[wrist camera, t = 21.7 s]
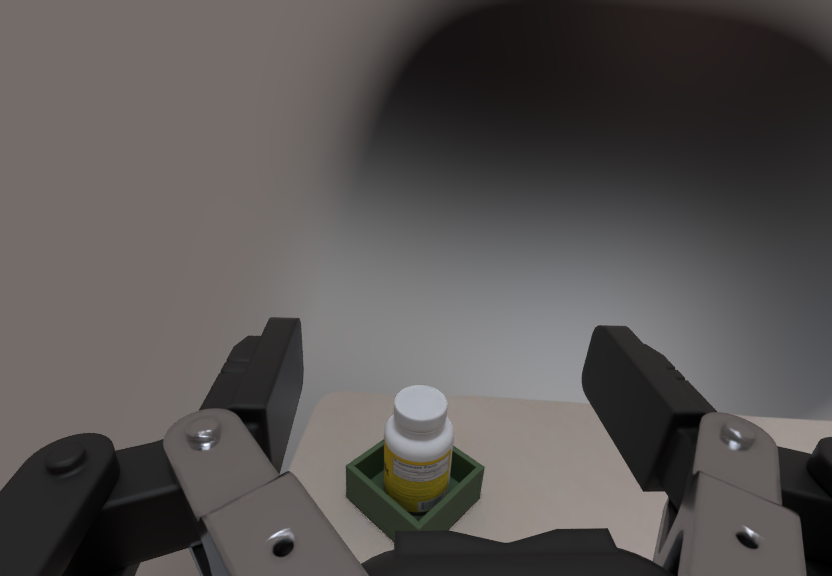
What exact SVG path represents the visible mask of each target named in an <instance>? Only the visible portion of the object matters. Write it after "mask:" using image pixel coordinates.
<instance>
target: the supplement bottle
mask: <svg viewBox="0 0 832 576" xmlns="http://www.w3.org/2000/svg"><path fill="white" fill-rule="evenodd" d="M447 406H448V405H447V400H446V398H445V396H444V395H443V394H442V393H441V392H440V391H438V390H437V389H435V388H433V387H430V386H424V385H414V386H409V387H407V388H404V389H402V390H401V391H400V392H399V393H398V394H397V395H396V397H395V400H394V414H392V415H391V417H390V418H389V419H388V421H387V423H386V426H385V434H384V492H385V493H386V494H387V495H388V496H390V497H391V498H392V499H393V500H394V501H395V502H397V503H398V504H399V505H400V506H401V507H402V508H404V509H405V510H406V511H407V512H408V513H409V514H410V515H412V516H413V517H414V518H415V519H416V520H420V519H421V518H422V517H424V516H425V515H426V514H427V513H428V512H429V511H430V510H431V509H432V508H433V507H434V506H435V505H436V504H437V503H439V502H440V501H441V500H442V499H443V498H444V497H445V496H446V495H447V494H448V490H449V481H450V471H451V461H452V451H453V441H454V430H453V426H452V423H451V422H450V420H449V419H448V417H447Z"/></svg>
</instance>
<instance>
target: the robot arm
mask: <svg viewBox="0 0 832 576" xmlns="http://www.w3.org/2000/svg"><path fill="white" fill-rule="evenodd" d="M301 334H302V333H301V322H300V319H299V318H276V317H271V318H270V319H269V320H268V322H267V324H266V327H265V329H264V331H263V333H262V335H261V336H247V337H246V338H245V339H243V340H242V341H241V342H239V343H238V344H237V345H235V346H234V347H233V349H232V351H231V353H230V355H229V356H228V358H227V362H225V364H224V366H223V368H222V369H221V373H220V374H219V375H218V377H217V378H216V380H215V382H214V384H213V386H212V387H211V389H210V391H209V393H208V395H207V397H206V399H205V400H204V402H203V404H202V406H201V408H200V409H199V411H197V412H194V413H191V414H189V415H187V416H185V417H183V418H181V419H180V420H178V421H177V422H175V423H174V424H173V425H172V426H171V427H170V428H169V430H168V431H167V433H166V435H165V436H164V439H162V440H160V441H156V442H153V443H149V444H144V445H140V446H135V447H131V448H126V449H122V450H117V451H115V449H114V446H113V443H112V441H111V440H110V439H109V438H108V437H106V436H104V435H101V434H96V433H84V434H77V435H72V436H68V437H65V438H62V439H60V440H57V441H55V442H53V443H50V444H49V445H47V446H45V447H43V448H41V449H40V450H39V451H37V452H36V453H34V454H33V455H32V456H31V457H30V458H28V459H27V460H26V461H25V463H24V464H23V465H22V466H21V467H20V468H19V470H18V471H17V472H16V473H15V474H14V476H13V477H12V478H11V479H10V480H9V482H8V483H7V484H6V485H5V487H4V488H3V489H2V490H1V491H0V576H135V574H136V571H137V569H138V567H139V565H140V562H144V561H147V560H150V559H153V558H157V557H160V556H163V555H167V554H170V553H173V552H176V551H180V550H183V549H186V548H189V550H190V552H191V555H192V557H193V560H194V562H195V564H196V567H197V569H198V571H199V574H200V576H832V437H826V438H823V439H821V440H820V441H819V442H818V444H817V446H816V448H815V449H814V451H813V453H812V454H809V453H805V452H800V451H796V450H791V449H787V448H783V447H778V446H777V445H776V443H775V441H774V440H773V439H772V437H771V436H770V435H769V434H768V433H766V432H765V431H764V430H763V429H761V428H760V427H758V426H757V425H755V424H753V423H752V422H750V421H748V420H746V419H743V418H741V417H738V416H735V415H732V414H727V413H721V412H717V411H716V410H715V409H714V408H713V407H712V406H711V405H710V404H709V403H708V402H707V400H706V399H705V398H704V397H703V396H702V395H701V394H700V393H699V392H698V391H697V390H696V389H695V388H694V387H693V386H692V385H691V384H690V383H689V382H688V381H685V378H684V376H683V375H682V374H681V373H680V372H679V371H678V370H675V367H674V366H673V365H672V364H671V363H670V362H669V361H668V360H667V359H666V357H665V356H664V355H662V354H660V353H659V352H657V351H656V350H654V349H653V348H651V347H649V346H648V345H646V344H643V343H642V342H641V341H640V339H639V338H638V337H637V336H636V335H635V334H634V333H633V332H632V331H631V330H630V329H629V328H628V327H626V326H601V325H600V326H597V327H596V328H595V329H594V331H593V334H592V337H591V342H590V345H589V349H588V352H587V357H586V360H585V364H584V367H583V372H582V387H583V391H584V393H585V395H586V397H587V399H588V400H589V402H590V404H591V405H592V407H593V409H594V410H595V412H596V414H597V415H598V417H599V419H600V420H601V422H602V424H603V425H604V427H605V429H606V430H607V432H608V434H609V435H610V437H611V439H612V440H613V442H614V444H615V445H616V447H617V449H618V450H619V452H620V454H621V455H622V457H623V459H624V460H625V462H626V464H627V465H628V467H629V469H630V470H631V472H632V474H633V475H634V477H635V479H636V480H637V482H638V484H639V485H640V487H641V489H642V490H643V492H651V491H665V492H666V494H667V495H668V499H667V501H666V503H665V506H664V509H663V514H662V518H661V523H660V528H659V533H658V538H657V542H656V547H655V552H654V557H653V561H651V560H649V559H647V558H644V557H642V556H640V555H638V554H635V553H632V552H629V551H626V550H624V549H620V548H617V547H616V545H615V543H614V541H613V539H612V536H611V534H610V532H609V530H608V528H604V529H555V530H552V531H549V532H545V533H542V534H538V535H535V536H531V537H528V538H524V539H521V540H518V541H514V542H510V543H503V542H497V541H493V540H489V539H484V538H480V537H475V536H471V535H467V534H462V533H458V532H453V531H449V530H444V531H395V544H394V550H391V551H387V552H384V553H382V554H379V555H377V556H375V557H372V558H370V559H369V560H367V561H365V562H364V563H362V564H360V563H359V561H358V560H357V559H356V557H355V556H354V554H353V553H352V552H351V550H350V549H349V548H348V546H347V545H346V544H345V542H344V541H343V540H342V538H341V537H340V535H339V534H338V533H337V531H336V530H335V529H334V527H333V526H332V525H331V523H330V522H329V521H328V519H327V518H326V516H325V515H324V514H323V512H322V511H321V510H320V508H319V507H318V506H317V504H316V503H315V501H314V500H313V499H312V497H311V496H310V495H309V493H308V492H307V491H306V489H305V488H304V487H303V485H302V484H301V482H300V481H299V480H298V478H297V477H296V476H295V475H294V474H293V473H291V472H289V471H287V472H285V473H283V474H281V475H279V474H280V470H281V467H282V463H283V459H284V455H285V451H286V448H287V444H288V440H289V436H290V433H291V429H292V425H293V421H294V417H295V414H296V410H297V406H298V402H299V398H300V395H301V391H302V385H303V371H304V367H303V351H302V335H301Z"/></svg>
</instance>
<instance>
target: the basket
mask: <svg viewBox="0 0 832 576" xmlns="http://www.w3.org/2000/svg"><path fill="white" fill-rule="evenodd" d="M484 468H485V467H484V466H482V465H481V464H479V463H478V462H476V461H475V460H474V459H472V458H471V457H469V456H468V455H466V454H465V453H463V452H462V451H460V450H459V449H457V448H456V447H455V446H453V451H452V461H451V471H450V481H449V490H448V494H447V495H446V496H445V497H444V498H443V499H442V500H441V501H440V502H439V503H437V504H436V505H435V506H434V507H433V508H432V509H431V510H430V511H429V512H428V513H427V514H426V515H425V516H424V517H422V518H421V519H420V520H416V519H415V518H414V517H413V516H412V515H410V514H409V513H408V512H407V511H406V510H405V509H404V508H402V507H401V506H400V505H399V504H398V503H397V502H395V501H394V500H393V499H392V498H391V497H390V496H388V495H387V494H386V493H385V492H384V439H383V440H382V441H381V442H379V443H378V444H376V445H375V446H373V447H372V448H371V449H369V450H368V451H366V452H365V453H363V454H362V455H361V456H359V457H358V458H356V459H355V460H353V461H352V462H351V463H349V464H348V465H346V497H347V498H348V499H349V500H350V501H351V502H352V503H353V504H354V505H356V506H357V507H358V508H359V509H360V510H361V511H362V512H363V513H364V514H365V515H366V516H367V517H368V518H369V519H370V520H371V521H373V522H374V523H375V524H376V525H377V526H378V527H379V528H380V529H381V530H382V531H383V532H384V533H385V534H386V535H387V536H388V537H390V538H391V539H392V540H393V541H394V542H395V531H444V530H448V529H449V528H450V527H451V526H452V525H453V524H454V523H455V522H456V521H457V520H458V519H459V518H460V517H461V516H462V515H463V514H464V513H465V512H466V511H467V510H468V509H469V508H470V507H471V506H472V505H473V504H474V503H475V502H476V501H477V500H478V499H479V498H480V493H481V486H482V480H483V474H484Z"/></svg>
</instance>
